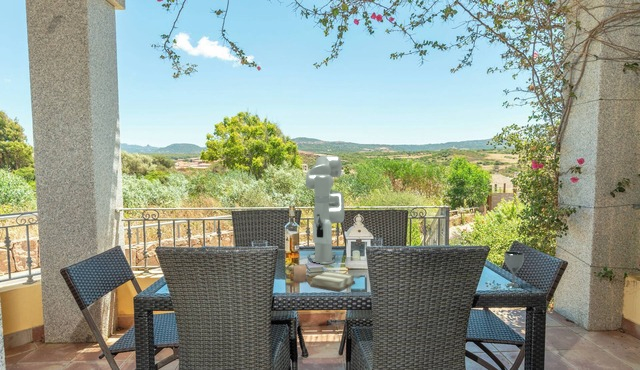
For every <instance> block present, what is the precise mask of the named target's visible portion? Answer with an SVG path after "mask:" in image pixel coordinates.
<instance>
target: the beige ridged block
mask: <svg viewBox="0 0 640 370" xmlns="http://www.w3.org/2000/svg"><path fill="white" fill-rule="evenodd" d="M354 279H355V277H354V274H349V273H344V272H343V273H342V272H336V271H331V270H327V271H324V272H321V273H319V274H318V275H315V276H314V277H312V278H311V283H310V287H312V288H314V289H315V288H317V289H321V290H328V291H333V292H339V293H340V292H342V291H343V290H346V289H347V288H349V287H352V286H353V285H355V284H356V280H354Z"/></svg>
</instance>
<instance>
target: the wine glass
mask: <svg viewBox="0 0 640 370" xmlns="http://www.w3.org/2000/svg"><path fill="white" fill-rule="evenodd" d="M524 259H525V253H524V252H522V251H515V250H507V251H504V262H505V265H506V267H507V268H508V269H509V270H510V272H511V275H512V282H508V284H507V283H506V284H507V285H508V286H511V287H510V288H512V287H518V284H519V283H516V282H515V278H516V273H517V272H518V271H519V270H520V269H521V268H522V266H523V264H524ZM508 286H507V287H508Z"/></svg>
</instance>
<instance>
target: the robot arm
mask: <svg viewBox="0 0 640 370" xmlns="http://www.w3.org/2000/svg"><path fill="white" fill-rule="evenodd" d="M342 167H343V165H342V160H341V158H340V157H339V156H338V155H321V156H319V157H317V158H316V159H315V164H314V165H313V166H312V167H311V168H310V169H309V170H307V172H306V175H305V176H306V177H305V186H306V188H307V189H309V190H314V206H313V208H314V209H313V211H312V212H313V213H312V215H313V221H314V223H315V224H316V229H317V237H321V238H322V237H323V229H322V228H323V223H324V221H325V219H327V220H329V221H331V224H341V223H343V222H344V220H345V199H344V197H345V196H344V195H343V192H342V191H340V190H332V189H331V188H332V187H333V186H334V183H335V182H334V181H335V180H334V178H339V177H341V174H342ZM319 222H321V223H319ZM320 224H321V226H320ZM335 255H336V253H335V252H333V242H332V243H331V244H323V243H314V258H315V260H313V259H311V260H312V261H313V262H317V263H320V264H319V265H329V264H330V265H331V264H334V263H335V258H333V257H334V256H335ZM332 258H333V260H332ZM330 260H332V261H330ZM313 262H312V263H313Z"/></svg>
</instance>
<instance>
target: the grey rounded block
mask: <svg viewBox="0 0 640 370" xmlns="http://www.w3.org/2000/svg"><path fill="white" fill-rule="evenodd" d="M319 223H321V222H319ZM320 226H321V224H320ZM322 229H323V237H322V238H321V237H317V229H316V224H315V223H314V220H313V221H312V242H313V243H314V244H315V243H323V244H331V243H332V244H333V241H332V239H333V236H332V235H333V233H332V231H333V230H332V223H331V221H329V220H327V219H325V221H324V223H323V228H322Z"/></svg>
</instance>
